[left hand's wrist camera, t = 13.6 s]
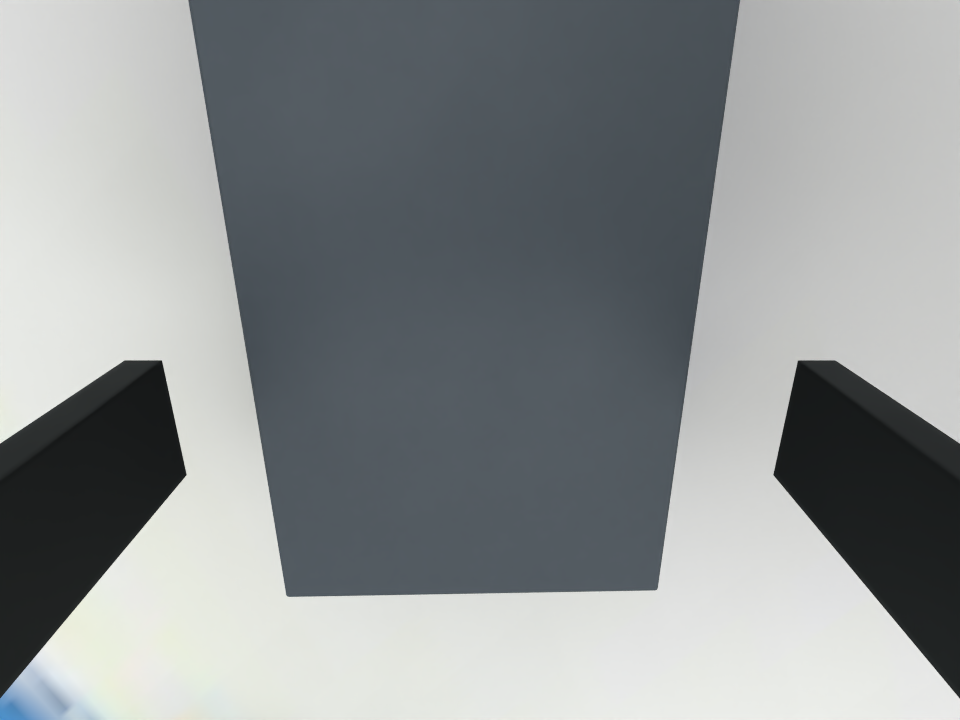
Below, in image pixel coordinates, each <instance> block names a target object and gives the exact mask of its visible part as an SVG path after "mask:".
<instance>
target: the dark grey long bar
mask: <svg viewBox="0 0 960 720" xmlns="http://www.w3.org/2000/svg"><path fill="white" fill-rule="evenodd" d="M739 3H740V0H189V6H190V12H191V18H192V24H193V30H194V37H195V43H196V49H197V55H198V61H199V67H200V73H201V79H202V85H203V91H204V97H205V103H206V109H207V115H208V122H209V128H210V134H211V140H212V146H213V152H214V158H215V164H216V170H217V176H218V182H219V188H220V194H221V200H222V207H223V213H224V219H225V225H226V231H227V237H228V243H229V249H230V255H231V261H232V267H233V273H234V279H235V285H236V292H237V298H238V304H239V310H240V316H241V322H242V328H243V334H244V340H245V346H246V352H247V358H248V364H249V370H250V377H251V383H252V389H253V395H254V401H255V407H256V413H257V419H258V425H259V431H260V437H261V443H262V449H263V456H264V462H265V468H266V474H267V480H268V486H269V492H270V498H271V504H272V510H273V516H274V522H275V528H276V534H277V541H278V547H279V553H280V559H281V565H282V571H283V577H284V583H285V589H286V595H287V596H288V597H301V596H358V595H415V594H472V593H528V592H585V591H642V590H657V588H658V582H659V574H660V567H661V560H662V553H663V546H664V539H665V532H666V524H667V517H668V510H669V503H670V496H671V489H672V482H673V474H674V467H675V460H676V453H677V446H678V439H679V432H680V424H681V417H682V410H683V403H684V396H685V389H686V381H687V374H688V367H689V360H690V353H691V346H692V339H693V331H694V324H695V317H696V310H697V303H698V296H699V289H700V281H701V274H702V267H703V260H704V253H705V246H706V239H707V231H708V224H709V217H710V210H711V203H712V196H713V188H714V181H715V174H716V167H717V160H718V153H719V146H720V138H721V131H722V124H723V117H724V110H725V103H726V96H727V88H728V81H729V74H730V67H731V60H732V53H733V46H734V38H735V31H736V24H737V17H738V10H739Z"/></svg>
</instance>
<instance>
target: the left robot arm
mask: <svg viewBox="0 0 960 720" xmlns="http://www.w3.org/2000/svg"><path fill="white" fill-rule="evenodd" d="M185 476H186V470H185V466H184V461H183V456H182V452H181V447H180V442H179V438H178V433H177V428H176V424H175V419H174V415H173V410H172V405H171V401H170V396H169V391H168V387H167V382H166V377H165V373H164V368H163V363H162V361H123V362H122V363H120V364H119V365H117V366H116V367H114V368H113V369H111V370H110V371H108V372H107V373H105V374H104V375H102V376H101V377H99V378H98V379H96V380H95V381H93V382H92V383H90V384H89V385H87V386H86V387H84V388H83V389H81V390H80V391H78V392H77V393H75V394H74V395H72V396H71V397H69V398H68V399H66V400H65V401H63V402H62V403H60V404H59V405H57V406H56V407H54V408H53V409H51V410H50V411H48V412H47V413H45V414H44V415H43V416H41V417H40V418H38V419H37V420H35V421H34V422H32V423H31V424H29V425H28V426H26V427H25V428H23V429H22V430H20V431H19V432H17V433H16V434H14V435H13V436H11V437H10V438H8V439H7V440H5V441H4V442H2V443H1V444H0V698H1V697H2V696H3V694H4V693H5V692H6V691H7V690H8V688H9V687H10V686H11V685H12V684H13V682H14V681H15V680H16V679H17V678H18V676H19V675H20V674H21V673H22V672H23V670H24V669H25V668H26V667H27V666H28V664H29V663H30V662H31V661H32V660H33V658H34V657H35V656H36V655H37V654H38V652H39V651H40V650H41V649H42V648H43V646H44V645H45V644H46V643H47V642H48V640H49V639H50V638H51V637H52V636H53V634H54V633H55V632H56V631H57V630H58V628H59V627H60V626H61V625H62V624H63V622H64V621H65V620H66V619H67V618H68V616H69V615H70V614H71V613H72V612H73V610H74V609H75V608H76V607H77V606H78V604H79V603H80V602H81V601H82V600H83V598H84V597H85V596H86V595H87V594H88V592H89V591H90V590H91V589H92V588H93V586H94V585H95V584H96V583H97V582H98V580H99V579H100V578H101V577H102V576H103V574H104V573H105V572H106V571H107V570H108V569H109V567H110V566H111V565H112V564H113V563H114V561H115V560H116V559H117V558H118V557H119V555H120V554H121V553H122V552H123V551H124V549H125V548H126V547H127V546H128V545H129V543H130V542H131V541H132V540H133V539H134V537H135V536H136V535H137V534H138V533H139V531H140V530H141V529H142V528H143V527H144V525H145V524H146V523H147V522H148V521H149V519H150V518H151V517H152V516H153V515H154V513H155V512H156V511H157V510H158V509H159V507H160V506H161V505H162V504H163V503H164V501H165V500H166V499H167V498H168V497H169V495H170V494H171V493H172V492H173V491H174V489H175V488H176V487H177V486H178V485H179V483H180V482H181V481H182V480H183V479H184V477H185ZM774 476H775V477H776V479H777V480H778V481H779V482H780V483H781V485H782V486H783V487H784V488H785V489H786V491H787V492H788V493H789V494H790V495H791V497H792V498H793V499H794V500H795V501H796V503H797V504H798V505H799V506H800V507H801V509H802V510H803V511H804V512H805V513H806V515H807V516H808V517H809V518H810V519H811V521H812V522H813V523H814V524H815V525H816V527H817V528H818V529H819V530H820V531H821V533H822V534H823V535H824V536H825V537H826V539H827V540H828V541H829V542H830V543H831V545H832V546H833V547H834V548H835V549H836V551H837V552H838V553H839V554H840V555H841V557H842V558H843V559H844V560H845V561H846V563H847V564H848V565H849V566H850V567H851V569H852V570H853V571H854V572H855V573H856V574H857V576H858V577H859V578H860V579H861V580H862V582H863V583H864V584H865V585H866V586H867V588H868V589H869V590H870V591H871V592H872V594H873V595H874V596H875V597H876V598H877V600H878V601H879V602H880V603H881V604H882V606H883V607H884V608H885V609H886V610H887V612H888V613H889V614H890V615H891V616H892V618H893V619H894V620H895V621H896V622H897V624H898V625H899V626H900V627H901V628H902V630H903V631H904V632H905V633H906V634H907V636H908V637H909V638H910V639H911V640H912V642H913V643H914V644H915V645H916V646H917V648H918V649H919V650H920V651H921V652H922V654H923V655H924V656H925V657H926V658H927V660H928V661H929V662H930V663H931V664H932V666H933V667H934V668H935V669H936V670H937V672H938V673H939V674H940V675H941V676H942V678H943V679H944V680H945V681H946V682H947V684H948V685H949V686H950V687H951V688H952V690H953V691H954V692H955V693H956V694H957V696H958V697H959V698H960V444H959V443H958V442H956V441H955V440H953V439H952V438H950V437H949V436H947V435H946V434H944V433H943V432H941V431H940V430H938V429H937V428H935V427H934V426H932V425H931V424H929V423H928V422H926V421H925V420H923V419H922V418H920V417H919V416H917V415H916V414H915V413H913V412H912V411H910V410H909V409H907V408H906V407H904V406H903V405H901V404H900V403H898V402H897V401H895V400H894V399H892V398H891V397H889V396H888V395H886V394H885V393H883V392H882V391H880V390H879V389H877V388H876V387H874V386H873V385H871V384H870V383H868V382H867V381H865V380H864V379H862V378H861V377H859V376H858V375H856V374H855V373H853V372H852V371H850V370H849V369H847V368H846V367H844V366H843V365H841V364H840V363H838V362H837V361H798V363H797V368H796V373H795V377H794V382H793V387H792V391H791V396H790V401H789V405H788V410H787V415H786V419H785V424H784V428H783V433H782V438H781V442H780V447H779V452H778V456H777V461H776V466H775V470H774Z"/></svg>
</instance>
